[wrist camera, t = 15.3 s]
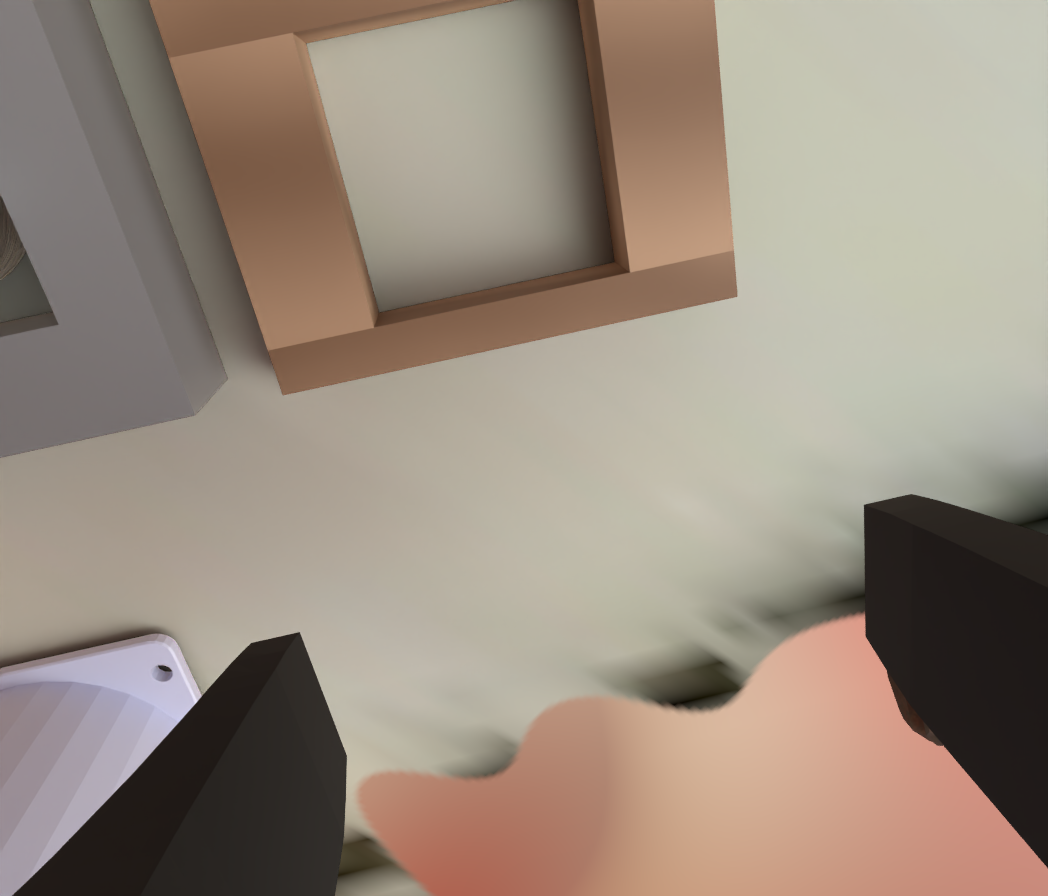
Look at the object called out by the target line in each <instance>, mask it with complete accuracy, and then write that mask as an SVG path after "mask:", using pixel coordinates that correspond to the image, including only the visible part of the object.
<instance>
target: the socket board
mask: <svg viewBox="0 0 1048 896" xmlns="http://www.w3.org/2000/svg"><path fill="white" fill-rule="evenodd" d="M510 1H515V0H149V2H150V5H151V8H152V11H153V14H154V17H155V20H156V23H157V25H158V28H159V31H160V34H161V37H162V40H163V43H164V46H165V49H166V52H167V55H168V58H169V61H170V64H171V67H172V70H173V73H174V76H175V79H176V81H177V84H178V87H179V90H180V93H181V96H182V99H183V102H184V105H185V108H186V111H187V114H188V117H189V120H190V123H191V126H192V129H193V132H194V135H195V138H196V140H197V143H198V146H199V149H200V152H201V155H202V158H203V161H204V164H205V167H206V170H207V173H208V176H209V179H210V182H211V185H212V188H213V191H214V194H215V196H216V199H217V202H218V205H219V208H220V211H221V214H222V217H223V220H224V223H225V226H226V229H227V232H228V235H229V238H230V241H231V244H232V247H233V250H234V253H235V255H236V258H237V261H238V264H239V267H240V270H241V273H242V276H243V279H244V282H245V285H246V288H247V291H248V294H249V297H250V300H251V303H252V306H253V309H254V311H255V314H256V317H257V320H258V323H259V326H260V329H261V332H262V335H263V338H264V341H265V344H266V347H267V350H268V353H269V356H270V359H271V362H272V365H273V368H274V370H275V373H276V376H277V379H278V382H279V385H280V388H281V391H282V394H283V395H287V394H291V393H296V392H300V391H305V390H310V389H314V388H319V387H324V386H328V385H333V384H337V383H342V382H347V381H351V380H356V379H360V378H365V377H370V376H374V375H379V374H383V373H388V372H393V371H397V370H402V369H406V368H411V367H416V366H420V365H425V364H429V363H434V362H439V361H443V360H448V359H452V358H457V357H462V356H466V355H471V354H475V353H480V352H485V351H489V350H494V349H499V348H503V347H508V346H512V345H517V344H522V343H526V342H531V341H535V340H540V339H545V338H549V337H554V336H558V335H563V334H568V333H572V332H577V331H581V330H586V329H591V328H595V327H600V326H604V325H609V324H614V323H618V322H623V321H627V320H632V319H637V318H641V317H646V316H651V315H655V314H660V313H664V312H669V311H674V310H678V309H683V308H687V307H692V306H697V305H701V304H706V303H710V302H715V301H720V300H724V299H729V298H733V297H737V285H736V272H735V259H734V246H733V234H732V221H731V208H730V195H729V182H728V170H727V157H726V144H725V131H724V118H723V106H722V93H721V80H720V67H719V55H718V42H717V29H716V16H715V3H714V0H578V6H579V13H580V20H581V28H582V35H583V42H584V49H585V56H586V63H587V70H588V77H589V84H590V91H591V98H592V105H593V112H594V120H595V127H596V134H597V141H598V148H599V155H600V162H601V169H602V176H603V183H604V190H605V197H606V204H607V212H608V219H609V226H610V233H611V240H612V247H613V254H614V261H615V262H613V263H608V264H604V265H599V266H594V267H590V268H585V269H580V270H576V271H571V272H566V273H562V274H557V275H552V276H548V277H543V278H539V279H534V280H529V281H525V282H520V283H515V284H511V285H506V286H501V287H497V288H492V289H487V290H483V291H478V292H473V293H469V294H464V295H459V296H455V297H450V298H445V299H441V300H436V301H431V302H427V303H422V304H418V305H413V306H408V307H404V308H399V309H394V310H390V311H385V312H380V313H379V310H378V307H377V303H376V299H375V296H374V292H373V288H372V285H371V281H370V277H369V274H368V270H367V266H366V263H365V259H364V255H363V252H362V248H361V244H360V241H359V237H358V233H357V230H356V226H355V222H354V219H353V215H352V211H351V208H350V204H349V200H348V196H347V193H346V189H345V185H344V182H343V178H342V174H341V171H340V167H339V163H338V160H337V156H336V152H335V149H334V145H333V141H332V138H331V134H330V130H329V127H328V123H327V119H326V116H325V112H324V108H323V105H322V101H321V97H320V94H319V90H318V86H317V83H316V79H315V75H314V72H313V68H312V64H311V61H310V57H309V53H308V50H307V46H306V43H309V42H314V41H319V40H324V39H329V38H334V37H339V36H344V35H348V34H353V33H358V32H363V31H368V30H373V29H378V28H383V27H387V26H392V25H397V24H402V23H407V22H412V21H417V20H422V19H427V18H431V17H436V16H441V15H446V14H451V13H456V12H461V11H466V10H471V9H475V8H480V7H485V6H490V5H495V4H500V3H505V2H510Z"/></svg>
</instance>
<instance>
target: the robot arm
mask: <svg viewBox="0 0 1048 896" xmlns="http://www.w3.org/2000/svg"><path fill="white" fill-rule="evenodd" d="M864 539H865V621H866V638H867V639H868V641H869V642H870V644H871V646H872V647H873V649H874V650H875V652H876V653H877V655H878V657H879V659H880V660H881V662H882V663H883V665H884V667H885V668H886V670H887V671H888V673H889V675H890V676H891V677H892V679H893V680H894V682H895V683H896V685H897V686H898V688H899V689H900V691H901V692H902V694H903V695H904V697H905V698H906V700H907V701H908V703H909V704H910V706H911V707H912V708H913V709H914V710H915V712H916V713H917V714H918V715H919V717H920V718H921V719H922V720H923V722H924V723H925V724H926V725H927V726H928V727H929V729H930V730H931V731H932V732H933V733H934V735H935V736H936V737H937V738H938V739H939V741H940V742H941V743H942V744H943V745H944V747H945V748H946V749H947V750H948V751H949V752H950V754H951V755H952V756H953V757H954V759H955V760H956V761H957V762H958V763H959V764H960V766H961V767H962V768H963V769H964V770H965V771H966V772H967V774H968V775H969V776H970V777H971V778H972V780H973V781H974V782H975V783H976V784H977V785H978V787H979V788H980V789H981V790H982V791H983V793H984V794H985V795H986V796H987V797H988V798H989V799H990V801H991V802H992V803H993V804H994V805H995V806H996V808H997V809H998V810H999V811H1000V812H1001V814H1002V815H1003V816H1004V817H1005V818H1006V819H1007V821H1008V822H1009V823H1010V824H1011V825H1012V827H1013V828H1014V829H1015V830H1016V831H1017V832H1018V834H1019V835H1020V836H1021V837H1022V838H1023V839H1024V840H1025V842H1026V843H1027V844H1028V845H1029V846H1030V848H1031V849H1032V850H1033V851H1034V852H1035V854H1036V855H1037V856H1038V857H1039V858H1040V859H1041V861H1042V862H1043V863H1044V864H1045V865H1046V866H1047V868H1048V535H1046V534H1043V533H1040V532H1037V531H1034V530H1031V529H1027V528H1024V527H1021V526H1018V525H1015V524H1012V523H1009V522H1006V521H1003V520H1000V519H996V518H993V517H990V516H987V515H984V514H981V513H978V512H974V511H971V510H968V509H965V508H961V507H958V506H955V505H951V504H948V503H944V502H941V501H937V500H933V499H930V498H925V497H921V496H917V495H912V494H910V495H905V496H901V497H897V498H892V499H888V500H883V501H879V502H874V503H870V504H866V505H864ZM157 665H165V666H167V667H169V668H170V669H171V670H172V671H171V672H165V671H163V670H160V669H159V667H158V666H157ZM346 766H347V755H346V753H345V750H344V747H343V745H342V742H341V740H340V737H339V734H338V732H337V729H336V726H335V724H334V721H333V718H332V716H331V713H330V711H329V708H328V705H327V703H326V700H325V697H324V695H323V692H322V690H321V687H320V684H319V682H318V679H317V676H316V674H315V671H314V669H313V666H312V663H311V661H310V658H309V655H308V653H307V650H306V648H305V645H304V642H303V640H302V637H301V634H300V632H299V633H294V634H290V635H285V636H281V637H276V638H272V639H268V640H263V641H259V642H254V643H251V644H250V645H249V646H248V647H247V648H246V649H245V650H244V651H243V652H242V653H241V654H240V655H239V656H238V657H237V658H236V659H235V660H234V661H233V662H232V663H231V664H230V665H229V666H228V668H227V669H226V670H225V671H224V672H223V673H222V674H221V675H220V676H219V678H218V679H217V680H216V681H215V682H214V683H213V684H212V685H211V687H210V688H209V689H208V690H207V691H206V692H205V693H204V694H203V696H202V695H201V693H200V691H199V689H198V687H197V684H196V682H195V680H194V678H193V676H192V674H191V672H190V669H189V667H188V665H187V663H186V661H185V659H184V656H183V654H182V652H181V650H180V648H179V646H178V644H177V643H176V641H175V640H174V639H172V638H171V637H169V636H168V635H164V634H150V635H145V636H141V637H136V638H132V639H127V640H123V641H118V642H114V643H110V644H105V645H101V646H96V647H92V648H87V649H83V650H78V651H74V652H69V653H65V654H61V655H56V656H52V657H47V658H43V659H38V660H34V661H29V662H25V663H20V664H16V665H12V666H7V667H3V668H0V896H335V891H336V884H337V878H338V872H339V865H340V859H341V852H342V845H343V839H344V823H345V803H346Z"/></svg>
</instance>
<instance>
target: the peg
mask: <svg viewBox="0 0 1048 896" xmlns="http://www.w3.org/2000/svg"><path fill="white" fill-rule="evenodd" d="M25 252H26V250H25V248H24V246H23V243H22V241H21V239H20V237H19V234H18V232H17V230H16V228H15V226H14V223H13V221H12V219H11V217H10V214H9V212H8V210H7V208H6V205H5V203H4V201H3V199H2V197H1V194H0V280H2V279H3V278H4V277H6V276H7V275H9V274H10V273H11V271H12V270H13V269H14V268H15V267H16V266H17V265H18V264H19V262H20V261H21V259H22V258H23V256H24V254H25Z"/></svg>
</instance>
